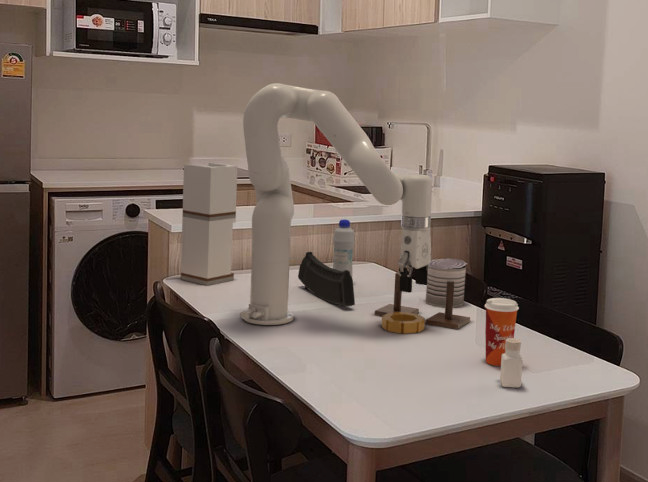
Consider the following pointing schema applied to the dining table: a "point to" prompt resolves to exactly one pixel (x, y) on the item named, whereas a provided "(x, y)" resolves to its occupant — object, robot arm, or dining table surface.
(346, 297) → the magazine
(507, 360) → the salt shaker
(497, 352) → the paper cup
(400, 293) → the left peg
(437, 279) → the can
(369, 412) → the dining table surface
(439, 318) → the right peg
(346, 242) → the bottle
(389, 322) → the ring
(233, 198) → the banded square column
